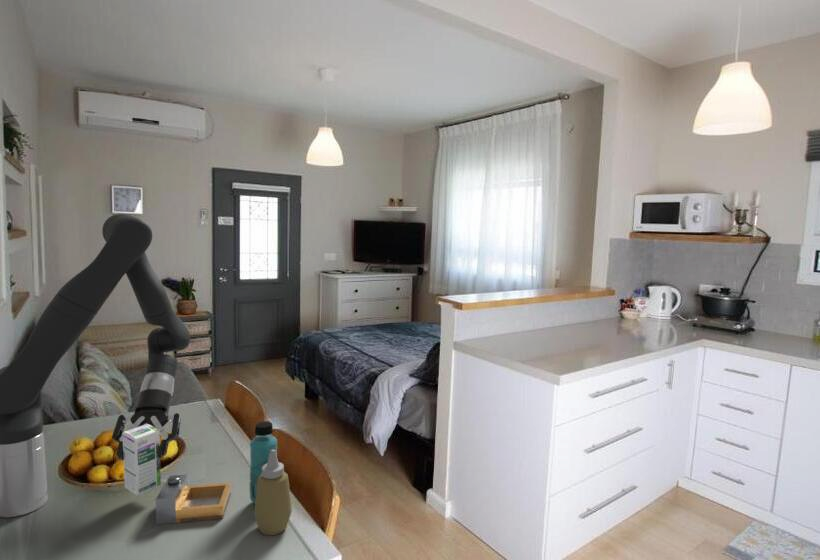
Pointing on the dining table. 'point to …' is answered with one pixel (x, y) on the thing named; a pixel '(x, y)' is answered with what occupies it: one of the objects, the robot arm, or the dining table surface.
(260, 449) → the beverage bottle
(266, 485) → the squeeze bottle
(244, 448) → the dining table surface
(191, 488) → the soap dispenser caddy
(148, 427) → the syrup box
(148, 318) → the robot arm
